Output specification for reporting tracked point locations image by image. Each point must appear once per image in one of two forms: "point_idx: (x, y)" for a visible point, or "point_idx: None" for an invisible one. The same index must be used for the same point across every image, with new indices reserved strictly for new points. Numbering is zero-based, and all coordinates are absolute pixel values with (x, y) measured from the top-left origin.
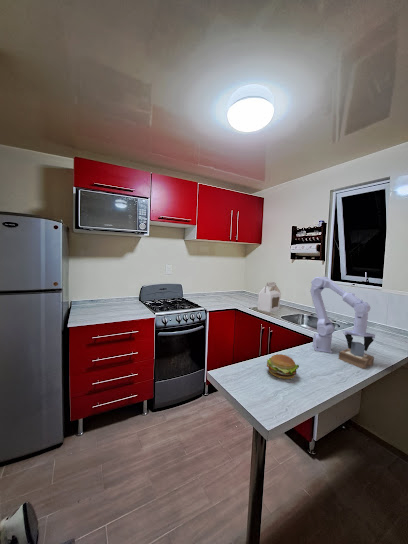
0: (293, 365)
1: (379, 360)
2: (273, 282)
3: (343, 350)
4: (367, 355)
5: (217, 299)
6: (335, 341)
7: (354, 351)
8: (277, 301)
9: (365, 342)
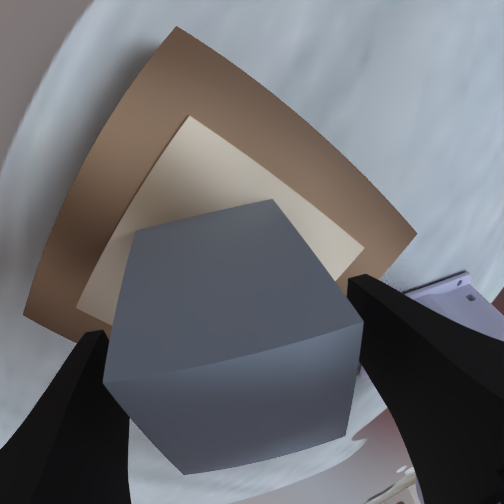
0: None
1: (23, 360)
2: None
3: None
4: (83, 306)
5: None
6: (266, 467)
7: (294, 233)
8: None
9: (104, 485)
